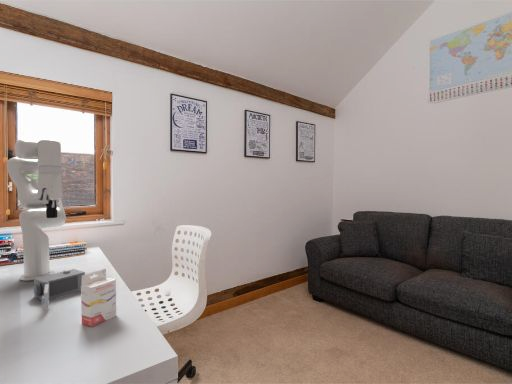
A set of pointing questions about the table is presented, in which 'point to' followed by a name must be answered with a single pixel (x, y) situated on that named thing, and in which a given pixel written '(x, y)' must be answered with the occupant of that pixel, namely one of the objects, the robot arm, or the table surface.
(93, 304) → the ink cartridge box
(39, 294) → the grey knobbed panel
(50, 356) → the table surface
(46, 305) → the side door
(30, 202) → the robot arm
